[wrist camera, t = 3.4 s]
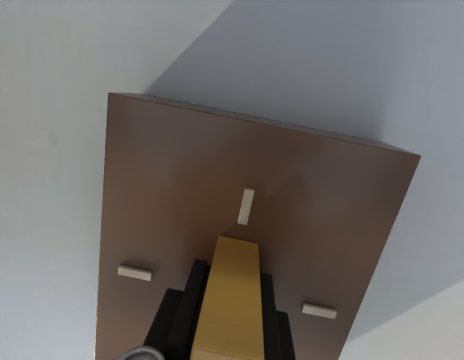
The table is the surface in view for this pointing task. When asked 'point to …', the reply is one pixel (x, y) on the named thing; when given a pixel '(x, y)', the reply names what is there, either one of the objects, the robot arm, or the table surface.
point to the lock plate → (240, 214)
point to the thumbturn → (231, 305)
